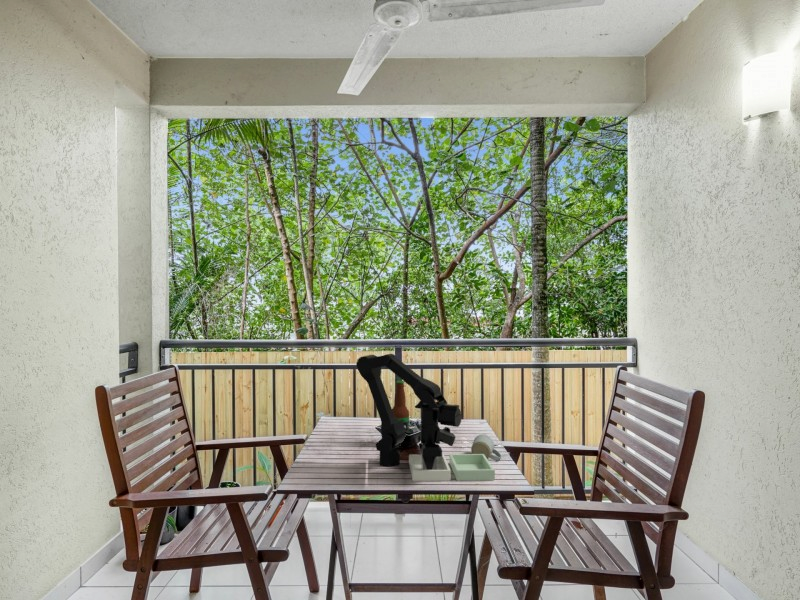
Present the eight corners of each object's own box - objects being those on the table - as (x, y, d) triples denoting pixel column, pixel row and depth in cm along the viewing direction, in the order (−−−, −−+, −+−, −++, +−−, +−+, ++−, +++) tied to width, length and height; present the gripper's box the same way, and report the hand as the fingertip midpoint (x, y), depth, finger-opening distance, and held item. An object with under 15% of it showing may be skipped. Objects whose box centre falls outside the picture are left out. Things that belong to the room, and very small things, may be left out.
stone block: (422, 474, 168) (422, 459, 167) (421, 469, 172) (421, 454, 172) (436, 474, 168) (436, 458, 168) (434, 469, 172) (435, 454, 172)
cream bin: (412, 483, 162) (412, 470, 161) (408, 465, 178) (409, 454, 177) (450, 483, 162) (450, 470, 162) (443, 465, 178) (443, 454, 178)
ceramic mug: (470, 460, 184) (470, 439, 184) (473, 453, 192) (473, 433, 192) (500, 464, 181) (501, 442, 181) (502, 456, 189) (502, 436, 189)
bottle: (391, 448, 197) (392, 383, 197) (388, 442, 204) (389, 379, 204) (410, 447, 199) (411, 382, 198) (406, 441, 206) (407, 379, 205)
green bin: (456, 483, 162) (457, 470, 162) (449, 465, 178) (449, 454, 178) (494, 482, 163) (494, 470, 163) (483, 465, 179) (483, 453, 179)
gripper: (458, 430, 161) (457, 479, 161) (449, 415, 179) (448, 460, 180) (422, 430, 160) (422, 480, 160) (417, 415, 179) (417, 460, 179)
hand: (428, 469), depth 170 cm, fingers closed on stone block, 4 cm apart
